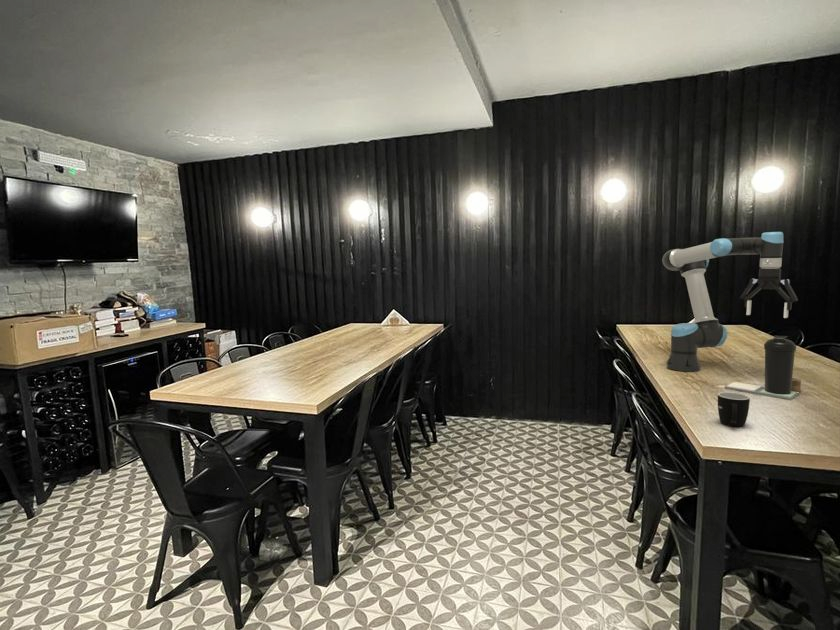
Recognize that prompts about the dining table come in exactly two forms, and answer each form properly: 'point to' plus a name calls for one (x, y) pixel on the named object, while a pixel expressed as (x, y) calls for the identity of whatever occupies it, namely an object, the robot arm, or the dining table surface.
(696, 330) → the robot arm
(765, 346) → the black travel mug
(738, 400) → the mug
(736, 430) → the dining table surface
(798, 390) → the walnut block
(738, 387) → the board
